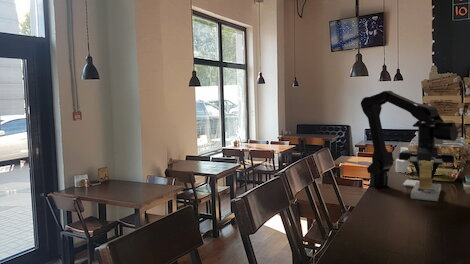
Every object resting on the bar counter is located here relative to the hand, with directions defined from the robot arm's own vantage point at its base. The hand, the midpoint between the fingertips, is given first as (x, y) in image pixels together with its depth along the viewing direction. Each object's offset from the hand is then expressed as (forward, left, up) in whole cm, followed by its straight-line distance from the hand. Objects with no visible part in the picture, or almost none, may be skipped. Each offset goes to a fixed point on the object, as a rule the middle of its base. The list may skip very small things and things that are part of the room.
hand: (425, 178), depth 143 cm
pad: (+10, +17, -7) cm, 21 cm away
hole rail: (+3, +3, -7) cm, 8 cm away
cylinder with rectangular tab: (+23, +42, -7) cm, 48 cm away
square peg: (0, 0, -4) cm, 4 cm away
